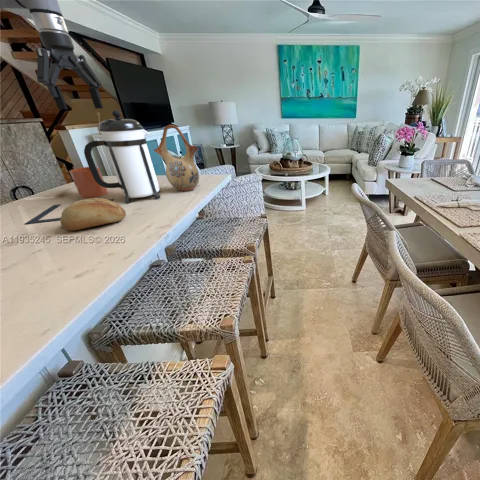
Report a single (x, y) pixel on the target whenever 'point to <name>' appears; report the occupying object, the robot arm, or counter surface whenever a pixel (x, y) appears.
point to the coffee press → (126, 158)
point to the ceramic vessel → (179, 164)
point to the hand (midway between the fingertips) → (82, 108)
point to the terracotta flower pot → (87, 183)
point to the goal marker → (36, 219)
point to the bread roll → (91, 213)
